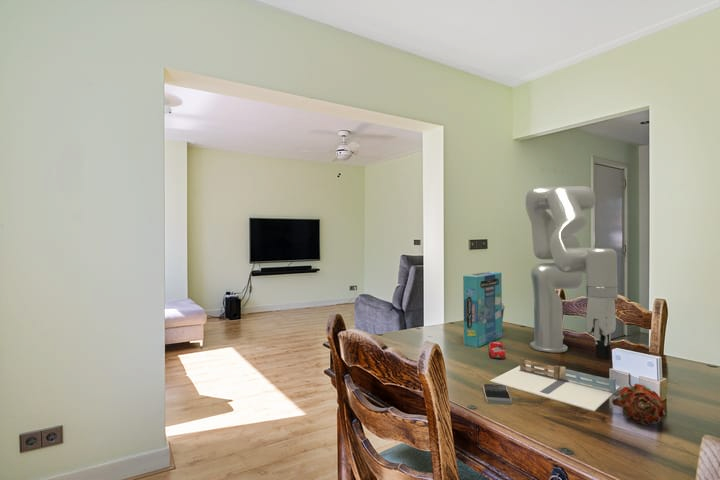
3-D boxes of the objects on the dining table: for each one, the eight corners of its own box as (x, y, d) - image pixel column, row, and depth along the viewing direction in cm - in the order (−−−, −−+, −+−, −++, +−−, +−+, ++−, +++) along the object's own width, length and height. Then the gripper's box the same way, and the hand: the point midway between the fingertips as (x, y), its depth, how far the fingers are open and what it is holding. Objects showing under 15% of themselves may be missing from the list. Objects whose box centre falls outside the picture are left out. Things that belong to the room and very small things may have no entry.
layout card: (524, 364, 127) (524, 363, 127) (621, 386, 107) (621, 385, 107) (489, 381, 112) (489, 380, 112) (594, 411, 92) (594, 410, 92)
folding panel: (559, 379, 111) (559, 367, 111) (561, 377, 112) (561, 366, 112) (614, 392, 101) (614, 379, 101) (615, 391, 102) (615, 378, 102)
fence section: (520, 371, 120) (520, 358, 120) (522, 370, 121) (521, 357, 121) (558, 381, 112) (558, 367, 112) (559, 379, 113) (559, 366, 113)
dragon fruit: (653, 441, 81) (623, 423, 93) (687, 417, 81) (652, 402, 93) (625, 406, 83) (598, 392, 95) (657, 382, 83) (626, 372, 95)
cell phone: (505, 389, 107) (505, 384, 107) (512, 406, 96) (512, 401, 96) (482, 388, 108) (482, 383, 108) (486, 405, 98) (486, 399, 98)
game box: (488, 335, 165) (487, 271, 165) (502, 337, 160) (502, 272, 160) (463, 344, 150) (462, 275, 150) (478, 348, 146) (477, 276, 146)
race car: (506, 361, 131) (506, 349, 131) (489, 360, 133) (489, 348, 133) (503, 350, 144) (503, 339, 144) (488, 349, 145) (488, 338, 145)
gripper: (595, 289, 116) (597, 351, 115) (577, 294, 106) (578, 361, 105) (625, 291, 110) (626, 356, 110) (608, 296, 100) (610, 367, 100)
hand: (603, 358), depth 108 cm, fingers closed
